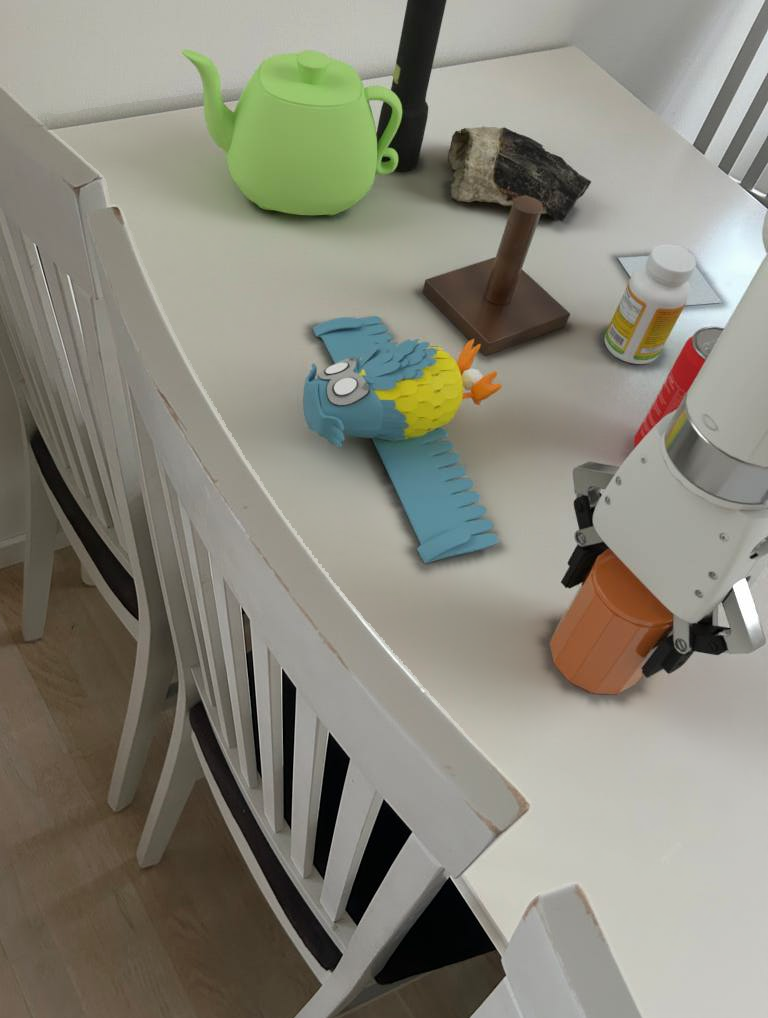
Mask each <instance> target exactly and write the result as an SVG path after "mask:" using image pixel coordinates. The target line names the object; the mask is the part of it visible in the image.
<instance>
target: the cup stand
mask: <svg viewBox="0 0 768 1018" xmlns="http://www.w3.org/2000/svg"><path fill="white" fill-rule="evenodd" d="M542 209H543V206H542V204H541V203H540V202H539V201H538V200H537V199H535V198H533V197H529V196H519V197H517V198H515V199H514V201H513V204H512V205H511V208H510V210H509V214H508V217H507V220H506V223H505V226H504V231H503V233H502V236H501V239H500V243H499V245H498V249H497V253H496V254H495V256H494V257H491V258H488V259H485V260H482V261H478V262H475V263H473V264H470V265H469V264H468V265H467V266H463V267H460V268H457V269H454V270H451V271H447V272H445V273H442V274H437V275H435V276H432V277H430V278H429V277H428V278H426V279H425V280H424V283H423V287H422V291H421V293H422V294H423V295H424V296H425V297H426V298H427V299H428V300H429V301H430V302H431V303H432V304H433V305H434V306H435V307H436V308H437V309H438V310H439V311H440V312H441V313H442V314H443V315H444V316H445V317H446V319H448V321H450V322H451V323H452V325H454V326H455V327H456V329H458V331H460V332H461V334H462V335H464V337H465V338H467V339H468V341H470V340H472V339H474V343H473V346H474V347H475V346H477V345H478V344H481V345H480V349H479V350H478V351H480V353H482V354H483V355H484V356H485V357H486V356H489V355H491V354H494V353H496V352H499V351H502V350H505V349H507V348H510V347H513V346H517V345H518V344H520V343H524V342H526V341H529V340H532V339H535V338H538V337H540V336H543V335H545V334H548V333H551V332H553V331H557V330H560V329H562V328H565V327H566V326H567V324H568V321H569V320H570V319H569V318H570V316H571V313H570V312H569V311H568V310H567V309H566V308H565V307H564V306H563V305H562V304H560V303H559V302H558V301H557V300H556V299H555V298H554V297H553V296H552V295H551V294H550V293H549V292H548V291H547V290H545V289H544V287H542V286H541V285H540V284H539V283H538V282H537V281H536V280H534V279H533V277H531V276H530V275H529V274H528V273H527V272H526V271H525V270H523V267H524V264H525V261H526V258H527V255H528V252H529V249H530V247H531V243H532V241H533V238H534V235H535V232H536V229H537V227H538V223H539V221H540V218H541V216H542V213H541V212H542Z"/></svg>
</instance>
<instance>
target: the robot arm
mask: <svg viewBox="0 0 768 1018" xmlns="http://www.w3.org/2000/svg"><path fill="white" fill-rule="evenodd" d="M761 237H762V239H761V240H762V243H763V247H764V251H765V253H766V255H765V256H764V258H763V259H762V261H761V263H760V265H759V266H758V268H757V270H756V272H754V273H755V274H754V275H753V277H752V278H751V281H750V282H749V284H748V286H747V287H746V289H745V291H744V293H743V295H742V296H741V298H740V300H739V302H738V303H737V305H736V307H735V309H734V310H733V312H732V314H731V315H730V317H729V319H728V321H727V323H726V324H725V326H724V327H723V328H724V330H723V331H722V333H721V335H720V337H719V338H718V340H717V342H716V344H715V345H714V347H713V349H712V351H711V352H710V354H709V356H708V357H707V359H706V361H705V363H704V364H703V366H702V368H701V370H700V371H699V373H698V375H697V377H696V378H695V380H694V382H693V383H692V385H691V387H690V388H689V390H688V391H687V393H686V395H685V397H684V398H683V400H682V402H681V403H680V405H679V407H678V409H676V410H675V411H673V412H671V413H669V414H668V415H666V416H665V417H663V418H662V419H661V420H660V421H659V422H658V423H657V424H656V425H655V426H654V427H653V428H652V429H651V430H650V432H649V433H648V434H647V435H646V436H645V437H644V438H643V439H642V440H641V442H640V443H639V444H638V445H637V446H636V447H635V449H634V448H633V449H632V450H631V452H630V453H629V455H628V456H627V457H626V458H625V460H624V461H623V462H622V463H621V465H620V466H617V465H611V464H606V463H601V462H595V461H587V462H584V463H582V464H580V465H577V466H576V467H574V468H573V470H572V480H573V487H574V489H573V490H574V494H575V495H576V498H574V501H573V509H574V514H575V518H576V522H577V526H578V530H575V532H574V536H573V537H574V540H575V543H576V545H575V548H574V550H573V551H572V553H571V555H570V557H569V559H568V561H567V565H568V568H567V570H566V572H565V573H564V575H563V577H562V579H561V581H560V584H562V586H563V587H564V588H565V589H572V588H574V587H576V586H579V585H581V584H582V583H583V581H584V579H585V577H586V576H587V574H588V572H589V571H590V569H591V567H592V565H593V564H594V562H595V560H596V559H597V557H598V556H599V555H601V554H602V553H603V552H604V551H606V550H607V549H609V548H610V549H611V550H612V551H613V552H614V553H615V555H616V556H617V557H618V558H619V559H620V560H621V561H622V562H623V563H624V564H625V565H626V566H627V567H628V568H629V569H630V571H631V572H632V573H633V574H634V575H635V576H636V577H637V578H638V579H639V580H640V581H641V582H642V583H643V584H644V585H645V586H646V587H647V588H648V589H649V590H650V591H651V593H652V594H653V595H654V596H655V597H656V598H657V599H658V600H659V601H660V602H661V603H662V604H663V605H664V606H665V607H666V608H667V609H669V610H670V611H671V612H672V613H673V634H672V635H670V636H669V637H667V638H665V639H664V640H663V641H662V642H661V643H660V644H659V646H658V647H657V648H656V649H655V651H654V652H653V653H652V655H651V656H650V657H649V659H648V660H647V661H646V663H645V664H644V665H643V667H642V668H641V669H642V670H643V671H642V673H643V676H644V677H645V678H646V679H649V678H650V677H652V676H654V675H655V674H657V673H659V672H660V671H662V670H664V671H665V672H666V674H668V675H670V674H672V673H674V672H675V671H678V670H679V669H680V668H681V667H682V666H684V665H685V664H686V663H687V661H688V660H689V659H690V658H691V656H692V655H693V654H694V653H701V654H707V655H713V656H720V655H722V654H729V655H737V654H738V655H741V654H744V655H745V654H751V653H753V652H755V651H757V650H758V649H760V648H761V647H763V646H765V645H766V644H767V638H766V635H765V632H764V629H763V626H762V622H761V620H760V616H759V614H758V611H757V607H756V604H755V601H754V599H753V596H752V592H751V587H753V585H754V584H755V582H756V581H757V580H758V578H759V577H760V575H761V574H762V573H763V571H764V570H765V568H766V566H767V565H768V209H766V213H765V215H764V218H763V224H762V231H761ZM601 490H604V491H603V492H602V493H601ZM720 604H721V606H722V608H723V611H724V614H725V616H726V620H727V622H728V625H729V627H727V626H721V625H719V605H720Z"/></svg>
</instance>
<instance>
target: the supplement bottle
mask: <svg viewBox="0 0 768 1018" xmlns="http://www.w3.org/2000/svg"><path fill="white" fill-rule="evenodd" d="M648 256H649V257H648V259H647V262H646V265H643V266H641V267H639V268H638V269H636V270H635V271H634V273H633V274H632V276H631V277H629V280H628V282H627V284H626V288H625V289H624V292H623V294H622V296H621V298H620V301H619V302H618V305H617V307H616V309H615V311H614V314H613V316H612V318H611V320H610V322H609V325H608V327H607V329H606V332H605V333H604V334H605V335H604V344H605V346H606V348H607V350H608V352H610V353H611V355H613V356H614V357H616V358H617V359H619V360H621V361H623V362H626V363H629V364H635V365H644V364H649V363H652V362H653V361H655V360H656V359H657V358H658V357H659V356H660V354H661V353H662V350H663V348H664V346H665V345H666V343H667V341H668V339H669V338H670V335H671V333H672V331H673V329H674V327H675V325H676V323H677V322H678V319H679V318H680V316H681V314H682V312H683V310H684V308H685V306H686V305H685V304H686V302H687V300H688V298H689V295H690V285H689V282H688V280H689V279H690V277H691V275H692V273H693V271H694V269H695V267H696V268H697V260H696V258H695V256H694V255H693V254H692V253H691V252H690V251H689V250H687V249H686V248H684V247H681V246H679V245H675V244H668V243H663V244H658V245H656V246H654V247H653V249H652V250H651V251H650V254H649V255H648Z"/></svg>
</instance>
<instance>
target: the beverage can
mask: <svg viewBox="0 0 768 1018" xmlns="http://www.w3.org/2000/svg"><path fill="white" fill-rule="evenodd" d="M724 328H725V327H720V326H704V327H701V328H699V329H697V330H696V331H695V332H694V334H693V335H692V336H690V337H688V339H687V340H686V341H685V343H684V345H683V346H682V349H681V350H680V352H679V354H678V356H677V358H676V360H675V362H674V363H673V364H672V367H671V368H670V371H669V373H668V375H667V376H666V378H665V380H664V382H663V384H662V386H661V387H660V389H659V391H658V393H657V395H656V397H654V400H653V402H652V404H651V406H650V408H649V409H648V411H647V413H646V415H645V417H644V419H643V420H642V422H641V424H640V426H639V427H638V430H637V432H636V433H635V436H634V439H633V445H634V447H633V450H634V449H635V447H636V446H637V445H638V444H639V443H640V442H641V440H642V439H643V438H644V437H645V436H646V435H647V434H648V433H649V432H650V430H651V429H652V428H653V427H654V426H655V425H656V424H657V423H658V422H659V421H660V420H661V419H662V418H663V417H665V416H666V415H668V414H669V413H671V412H673V411H675V410H676V409H678V407H679V405H680V403H681V402H682V400H683V398H684V397H685V395H686V393H687V391H688V390H689V388H690V387H691V385H692V383H693V382H694V380H695V378H696V377H697V375H698V373H699V371H700V370H701V368H702V366H703V364H704V363H705V361H706V359H707V357H708V356H709V354H710V352H711V351H712V349H713V347H714V345H715V344H716V342H717V340H718V338H719V337H720V335H721V333H722V331H723V330H724Z"/></svg>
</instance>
